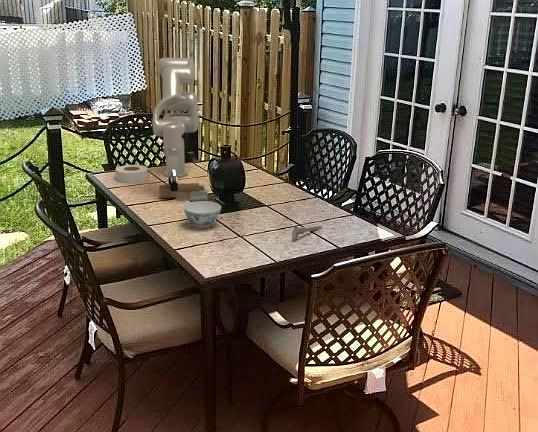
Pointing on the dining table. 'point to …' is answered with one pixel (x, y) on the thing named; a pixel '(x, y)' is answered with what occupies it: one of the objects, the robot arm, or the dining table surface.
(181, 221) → the dining table surface
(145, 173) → the roll of tape
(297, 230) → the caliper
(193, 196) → the cup bracket
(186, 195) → the walnut rail
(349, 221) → the dining table surface
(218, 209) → the chinaware
